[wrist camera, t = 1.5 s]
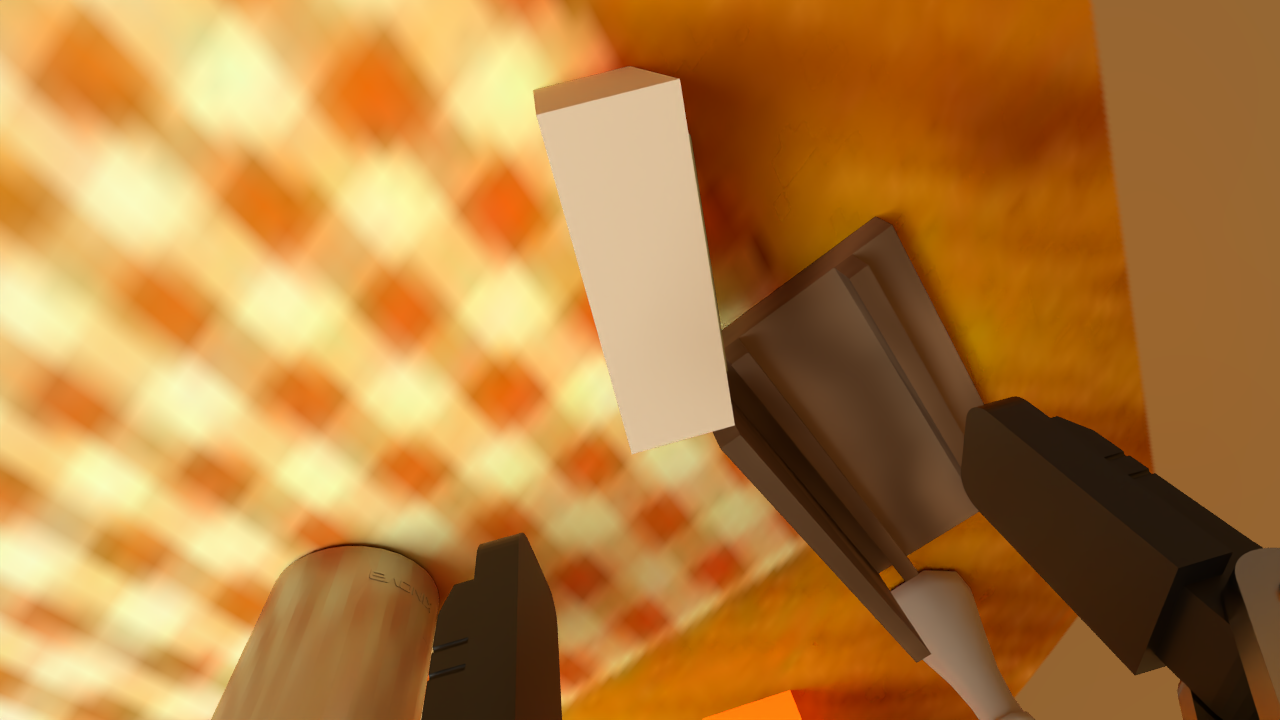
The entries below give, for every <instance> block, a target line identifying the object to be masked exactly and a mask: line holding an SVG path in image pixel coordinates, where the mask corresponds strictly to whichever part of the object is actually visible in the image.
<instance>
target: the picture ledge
mask: <svg viewBox="0 0 1280 720" xmlns="http://www.w3.org/2000/svg"><path fill="white" fill-rule="evenodd" d="M722 337H723V344H724V350H725V357H726V363H727V369H728V371H727V372H726V373H727V379H728V386H729V392H730V398H731V404H732V411H733V417H734V423H735V425H734V426H731V427H727V428H724V429H720V430H717V431H713V434H714V436H715V438H716V440H717V442H718V444H719V446H720V448H721V450H722V451H723V452H724V453H725V454H726V455H727V456H728V457H729V458H730V459H731V461H732V462H733V463H734V464H735V465H736V466H737V467H738V468H739V469H740V470H741V471H742V473H743V474H744V475H745V476H746V477H747V478H748V479H749V480H750V481H751V482H752V483H753V485H754V486H755V487H756V488H757V489H758V490H759V491H760V492H761V493H762V494H763V495H764V497H765V498H766V499H767V500H768V501H769V502H770V503H771V504H772V505H773V506H774V507H775V509H776V510H777V511H778V512H779V513H780V514H781V515H782V516H783V517H784V518H785V519H786V521H787V522H788V523H789V524H790V525H791V526H792V527H793V528H794V529H795V530H796V531H797V533H798V534H799V535H800V536H801V537H802V538H803V539H804V540H805V541H806V542H807V543H808V545H809V546H810V547H811V548H812V549H813V550H814V551H815V552H816V553H817V554H818V556H819V557H820V558H821V559H822V560H823V561H824V562H825V563H826V564H827V565H828V566H829V568H830V569H831V570H832V571H833V572H834V573H835V574H836V575H837V576H838V577H839V578H840V580H841V581H842V582H843V583H844V584H845V585H846V586H847V587H848V588H849V589H850V590H851V592H852V593H853V594H854V595H855V596H856V597H857V598H858V599H859V600H860V601H861V602H862V604H863V605H864V606H865V607H866V608H867V609H868V610H869V611H870V612H871V613H872V614H873V616H874V617H875V618H876V619H877V620H878V621H879V622H880V623H881V624H882V625H883V626H884V628H885V629H886V630H887V631H888V632H889V633H890V634H891V635H892V636H893V637H894V638H895V640H896V641H897V642H898V643H899V644H900V645H901V646H902V647H903V648H904V649H905V650H906V652H907V653H908V654H909V655H910V656H911V657H912V658H913V659H914V660H915V661H916V662H919V661H920V660H922V659H924V658H926V657H927V656H929V655H931V653H930V651H929V650H928V648H927V647H926V645H925V644H924V642H923V641H922V639H921V638H920V636H919V635H918V633H917V631H916V630H915V628H914V627H913V625H912V624H911V622H910V621H909V619H908V618H907V616H906V615H905V613H904V612H903V610H902V609H901V607H900V606H899V604H898V603H897V601H896V600H895V598H894V596H893V595H892V593H891V592H890V590H889V589H888V587H887V586H886V584H885V583H884V581H883V580H882V578H881V577H880V575H879V574H878V573H880V572H881V571H883V570H885V569H886V568H888V567H890V566H891V565H893V566H894V568H895V569H896V570H897V571H898V573H899V574H900V575H901V576H902V578H903V579H904V580H905V581H906V582H907V581H908V580H910V579H912V578H913V577H915V576H917V575H918V574H919V573H918V571H917V570H916V569H915V567H914V566H913V564H912V563H911V562H910V560H909V559H908V558H907V555H909V554H911V553H912V552H914V551H916V550H917V549H919V548H920V547H922V546H924V545H925V544H927V543H929V542H930V541H932V540H933V539H935V538H937V537H938V536H940V535H942V534H943V533H945V532H946V531H948V530H950V529H951V528H953V527H955V526H956V525H958V524H959V523H961V522H963V521H964V520H966V519H968V518H969V517H971V516H972V515H974V514H976V513H977V512H979V511H978V509H977V508H976V507H975V506H974V505H973V504H972V502H971V501H970V499H969V498H968V496H967V494H966V492H965V489H964V487H963V484H962V480H961V464H962V454H963V444H964V434H965V424H966V416H967V413H968V412H969V410H970V409H972V408H974V407H978V406H981V405H984V404H983V402H982V400H981V398H980V396H979V394H978V392H977V390H976V388H975V386H974V384H973V382H972V380H971V378H970V376H969V374H968V372H967V370H966V368H965V366H964V364H963V363H962V361H961V359H960V357H959V355H958V353H957V351H956V349H955V347H954V345H953V343H952V341H951V339H950V337H949V335H948V333H947V331H946V329H945V327H944V325H943V323H942V321H941V320H940V318H939V316H938V314H937V312H936V310H935V308H934V306H933V304H932V302H931V300H930V298H929V296H928V294H927V292H926V290H925V288H924V286H923V284H922V282H921V280H920V278H919V276H918V275H917V273H916V271H915V269H914V267H913V265H912V263H911V261H910V259H909V257H908V255H907V253H906V251H905V249H904V247H903V245H902V243H901V241H900V239H899V237H898V235H897V233H896V231H895V230H894V228H893V226H892V225H891V224H889V223H887V222H885V221H883V220H881V219H879V218H877V217H874V218H873V219H871V220H870V221H869V222H867V223H866V224H865V225H863V226H862V227H861V228H859V229H858V230H857V231H855V232H854V233H853V234H851V235H850V236H849V237H847V238H846V239H845V240H843V241H842V242H840V243H839V244H838V245H836V246H835V247H834V248H832V249H831V250H830V251H828V252H827V253H826V254H824V255H823V256H822V257H820V258H819V259H818V260H816V261H815V262H813V263H812V264H811V265H809V266H808V267H807V268H805V269H804V270H803V271H801V272H800V273H799V274H797V275H796V276H795V277H793V278H792V279H791V280H789V281H788V282H787V283H785V284H784V285H782V286H781V287H780V288H778V289H777V290H776V291H774V292H773V293H772V294H770V295H769V296H768V297H766V298H765V299H764V300H762V301H761V302H760V303H758V304H757V305H756V306H754V307H753V308H751V309H750V310H749V311H747V312H746V313H745V314H743V315H742V316H741V317H739V318H738V319H737V320H735V321H734V322H733V323H731V324H730V325H729V326H727V327H726V328H724V329H723V330H722Z"/></svg>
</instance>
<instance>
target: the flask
mask: <svg viewBox="0 0 1280 720" xmlns="http://www.w3.org/2000/svg"><path fill="white" fill-rule="evenodd" d="M891 593H892V595H893V596H894V598H895V600H896V601H897V603H898V604H899V606H900V607H901V609H902V610H903V612H904V613H905V615H906V616H907V618H908V619H909V621H910V622H911V624H912V625H913V627H914V628H915V630H916V631H917V633H918V635H919V636H920V638H921V639H922V641H923V642H924V644H925V645H926V647H927V648H928V650H929V651H930V653H931V655H929V656H927V657H926V658H924V659H922V660H923V661H925V662H926V663H927V664H928V665H929V666H930V667H931V668H932V669H934V670H935V671H936V672H937V673H938V674H939V675H940V676H941V677H942V678H944V679H945V680H946V681H947V682H948V683H949V684H950V685H951V686H952V687H953V688H954V689H955V690H956V691H957V693H958V694H959V695H960V696H961V697H962V698H963V699H964V701H965V702H966V703H967V704H968V705H969V706H970V707H971V709H972V710H973V711H974V713H975V714H976V716H977V717H978V719H979V720H1035V719H1034V718H1033V717H1032V716H1031V715H1030V714H1029V713H1027V712H1024V711H1023V710H1022V708H1021V707H1020V706H1019V704H1018V703H1017V701H1016V700H1015V699H1014V697H1013V696H1012V694H1011V692H1010V690H1009V688H1008V686H1007V685H1006V683H1005V681H1004V679H1003V677H1002V675H1001V673H1000V671H999V669H998V667H997V664H996V662H995V659H994V656H993V653H992V651H991V648H990V645H989V642H988V640H987V637H986V634H985V631H984V628H983V625H982V622H981V619H980V616H979V612H978V609H977V606H976V603H975V600H974V597H973V594H972V591H971V589H970V587H969V586H968V585H967V584H966V583H965V581H964V580H963V579H962V578H961V577H960V575H959V574H958V573H957V572H956V571H931V570H923V571H922V572H920V573H919V574H918V575H917V576H915V577H913V578H912V579H910V580H908V581H907V582H905V583H903V584H902V585H900V586H899V587H897V588H895V589H894V590H892V591H891Z"/></svg>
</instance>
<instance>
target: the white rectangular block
mask: <svg viewBox="0 0 1280 720" xmlns="http://www.w3.org/2000/svg"><path fill="white" fill-rule="evenodd" d="M533 92H534V101H535V109H536V116H537V119H538V123H539V126H540V130H541V134H542V137H543V141H544V144H545V148H546V151H547V155H548V158H549V162H550V165H551V169H552V173H553V176H554V180H555V183H556V187H557V190H558V194H559V197H560V201H561V204H562V208H563V212H564V215H565V219H566V222H567V226H568V229H569V233H570V236H571V240H572V243H573V247H574V251H575V254H576V258H577V261H578V265H579V268H580V272H581V275H582V279H583V282H584V286H585V290H586V293H587V297H588V300H589V304H590V307H591V311H592V314H593V318H594V321H595V325H596V329H597V332H598V336H599V339H600V343H601V346H602V350H603V353H604V357H605V360H606V364H607V367H608V371H609V375H610V378H611V382H612V385H613V389H614V392H615V396H616V399H617V403H618V406H619V410H620V414H621V417H622V421H623V424H624V428H625V431H626V435H627V438H628V442H629V445H630V449H631V453H632V454H634V453H638V452H642V451H645V450H649V449H652V448H656V447H659V446H663V445H667V444H670V443H674V442H677V441H681V440H684V439H688V438H692V437H695V436H699V435H702V434H706V433H709V432H713V431H717V430H720V429H724V428H727V427H731V426H734V425H735V423H734V417H733V411H732V404H731V398H730V392H729V386H728V379H727V373H726V372H727V371H728V369H727V363H726V357H725V350H724V344H723V337H722V331H721V325H720V318H719V312H718V306H717V299H716V293H715V287H714V280H713V274H712V267H711V261H710V255H709V248H708V242H707V236H706V229H705V223H704V217H703V210H702V204H701V197H700V191H699V185H698V178H697V172H696V166H695V159H694V153H693V147H692V140H691V135H690V134H688V127H687V121H686V115H685V109H684V102H683V96H682V90H681V83H680V79H679V78H675V77H671V76H667V75H663V74H659V73H655V72H651V71H647V70H643V69H639V68H635V67H631V66H628V67H624V68H620V69H616V70H612V71H608V72H604V73H600V74H596V75H592V76H588V77H584V78H580V79H576V80H572V81H568V82H564V83H560V84H556V85H552V86H548V87H544V88H540V89H536V90H533Z"/></svg>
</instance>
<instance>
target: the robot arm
mask: <svg viewBox="0 0 1280 720" xmlns="http://www.w3.org/2000/svg"><path fill="white" fill-rule="evenodd" d="M961 480H962V484H963V487H964V489H965V492H966V494H967V496H968V498H969V499H970V501H971V502H972V504H973V505H974V506H975V507H976V508H977V509H978V511H979V512H980V513H981V514H982V515H983V516H984V517H985V518H986V519H987V520H988V521H989V522H990V523H991V524H992V525H993V526H994V527H995V528H996V529H997V531H998V532H999V533H1000V534H1001V535H1002V536H1003V537H1004V538H1005V539H1006V540H1007V541H1008V542H1009V543H1010V544H1011V545H1012V546H1013V547H1014V548H1015V549H1016V551H1017V552H1018V553H1019V554H1020V555H1021V556H1022V557H1023V558H1024V559H1025V560H1026V561H1027V562H1028V563H1029V564H1030V565H1031V566H1032V567H1033V568H1034V569H1035V571H1036V572H1037V573H1038V574H1039V575H1040V576H1041V577H1042V578H1043V579H1044V580H1045V581H1046V582H1047V583H1048V584H1049V585H1050V586H1051V587H1052V588H1053V590H1054V591H1055V592H1056V593H1057V594H1058V595H1059V596H1060V597H1061V598H1062V599H1063V600H1064V601H1065V602H1066V603H1067V604H1068V605H1069V606H1070V607H1071V608H1072V610H1073V611H1074V612H1075V613H1076V614H1077V615H1078V616H1079V617H1080V618H1081V619H1082V620H1083V621H1084V622H1085V623H1086V624H1087V625H1088V626H1089V627H1090V628H1091V630H1092V631H1093V632H1094V633H1096V635H1097V636H1098V637H1099V638H1100V639H1101V640H1102V641H1103V642H1104V643H1105V644H1106V645H1107V646H1108V647H1109V649H1111V651H1112V652H1113V653H1114V654H1115V655H1116V656H1117V657H1118V658H1119V659H1120V660H1121V661H1122V662H1123V663H1124V664H1125V665H1126V666H1127V667H1128V668H1129V670H1131V672H1132V673H1133V674H1134V675H1138V674H1141V673H1145V672H1148V671H1151V670H1154V669H1158V668H1161V667H1165V666H1167V667H1168V668H1169V669H1170V670H1171V671H1172V672H1173V673H1174V674H1175V675H1176V676H1177V677H1178V678H1179V679H1180V683H1179V685H1178V699H1179V704H1180V708H1181V712H1182V717H1183V720H1280V548H1262V547H1261V546H1259V545H1258V544H1256V543H1255V542H1253V541H1252V540H1250V539H1249V538H1247V537H1246V536H1244V535H1243V534H1241V533H1240V532H1238V531H1237V530H1236V529H1234V528H1233V527H1231V526H1230V525H1228V524H1227V523H1226V522H1224V521H1223V520H1221V519H1220V518H1218V517H1217V516H1216V515H1214V514H1213V513H1211V512H1210V511H1208V510H1207V509H1206V508H1204V507H1202V506H1201V505H1200V504H1198V503H1197V502H1196V501H1194V500H1193V499H1191V498H1190V497H1188V496H1187V495H1185V494H1184V493H1183V492H1181V491H1180V490H1178V489H1177V488H1175V487H1174V486H1173V485H1171V484H1170V483H1168V482H1167V481H1165V480H1164V479H1162V478H1161V477H1160V476H1158V475H1157V474H1155V473H1154V474H1151V473H1150V472H1149V469H1148V468H1147V467H1145V466H1144V465H1142V464H1141V463H1140V462H1138V461H1137V460H1135V459H1134V458H1132V457H1131V456H1125V455H1124V451H1122V450H1121V449H1120V448H1118V447H1117V446H1115V445H1114V444H1112V443H1111V442H1109V441H1108V440H1107V439H1105V438H1104V437H1102V436H1101V435H1099V434H1098V433H1097V432H1095V431H1093V430H1091V429H1088V428H1086V427H1083V426H1081V425H1078V424H1076V423H1073V422H1071V421H1068V420H1066V419H1063V418H1061V417H1058V416H1056V417H1053V418H1049V417H1048V416H1047V415H1045V414H1044V413H1043V412H1041V411H1040V410H1039V409H1037V408H1036V407H1034V406H1033V405H1032V404H1030V403H1029V402H1028V401H1026V400H1024V399H1022V398H1020V397H1010V398H1006V399H1003V400H999V401H996V402H992V403H989V404H985V405H981V406H978V407H974V408H972V409H970V410H969V412H968V413H967V416H966V424H965V434H964V444H963V454H962V464H961ZM438 607H439V594H438V589H437V587H436V585H435V582H434V580H433V579H432V578H431V576H430V575H429V574H428V573H427V572H426V570H425V569H423V568H422V567H421V566H419V565H418V564H417V563H415V562H414V561H412V560H410V559H408V558H406V557H404V556H402V555H400V554H398V553H395V552H391V551H388V550H385V549H380V548H374V547H367V546H342V547H335V548H328V549H324V550H321V551H318V552H314V553H311V554H309V555H307V556H305V557H303V558H301V559H299V560H297V561H295V562H294V563H293V564H291V565H290V566H289V567H288V568H286V569H285V570H284V571H283V572H282V574H281V575H280V576H279V578H278V579H277V580H276V582H275V584H274V586H273V588H272V591H271V593H270V595H269V597H268V599H267V601H266V603H265V606H264V608H263V610H262V612H261V614H260V616H259V619H258V621H257V623H256V625H255V627H254V629H253V631H252V634H251V636H250V638H249V640H248V642H247V644H246V646H245V648H244V650H243V652H242V654H241V657H240V659H239V661H238V663H237V665H236V667H235V669H234V672H233V674H232V676H231V678H230V680H229V682H228V684H227V687H226V689H225V691H224V693H223V695H222V697H221V700H220V702H219V704H218V706H217V708H216V710H215V712H214V715H213V717H212V719H211V720H562V710H561V690H560V669H559V648H558V627H557V617H556V611H555V606H554V601H553V597H552V594H551V591H550V588H549V586H548V583H547V581H546V579H545V577H544V575H543V572H542V570H541V568H540V566H539V563H538V561H537V559H536V557H535V554H534V552H533V550H532V548H531V545H530V543H529V541H528V539H527V537H526V535H525V534H524V533H519V534H516V535H512V536H509V537H505V538H501V539H498V540H494V541H491V542H487V543H484V544H480V545H479V547H478V550H477V556H476V566H475V576H474V579H473V580H470V581H466V582H463V583H459V584H456V585H454V586H453V588H452V590H451V592H450V594H449V596H448V597H447V599H446V601H445V603H444V605H443V607H442V608H441V610H440V612H439V614H438V617H437V613H438ZM436 620H437V623H436ZM435 626H436V629H435ZM434 632H435V636H434ZM433 639H434V642H433ZM432 645H433V650H434V653H433V654H432V655H431V651H432ZM430 658H431V661H430ZM429 665H430V667H429ZM428 670H429V681H427V677H428ZM426 683H427V686H426ZM425 689H426V693H425ZM424 696H425V699H424ZM423 702H424V705H423ZM422 708H423V712H422ZM421 715H422V718H421Z"/></svg>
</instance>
